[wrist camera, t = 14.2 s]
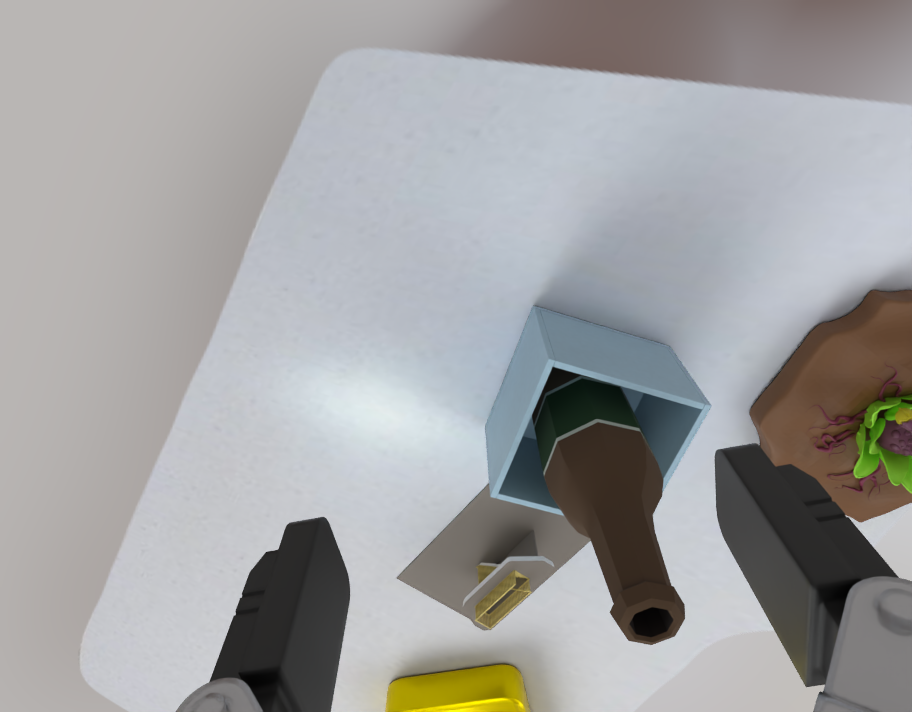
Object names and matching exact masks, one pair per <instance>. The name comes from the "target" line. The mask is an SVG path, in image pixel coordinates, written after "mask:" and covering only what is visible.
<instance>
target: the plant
mask: <svg viewBox="0 0 912 712" xmlns="http://www.w3.org/2000/svg"><path fill="white" fill-rule="evenodd" d="M750 416H751V418H752V421H753V423H754V425H755V427H756V429H757V432H758V434H759V438H760V447H761V448H762V450H763V451H764V452H765V453H766V455H767V456H768V457H769V459H770V460H771V461H772V463H773V464H774V465H775V466H781V465H787V464H792V465H794V466H795V467H797V468H799V469H800V470H802V471H804V472H805V473H807V474H809V475H811V476H812V477H814V478H816V479H817V481H818V482H819V483H820V484H821V485H822V487H823V488H824V489H825V490H826V491H827V493H828V494H829V495H830V496H831V497H832V501H833V502H834V501H835V502H836V503H837V505H838V506H839V507H840V508H841V509H842V511H843V512H844V513H845V515H847V516H849V517H852V518H853V519H855V520H857V521H858V522H864V521H866V520H868V519H871V518H874V517H877V516H880V515H883V514H885V513H888V512H890V511H893V510H895V509H897V508H899V507H902V506H904V505H906V504H909V503H912V290H904V291H897V292H883V291H877V290H873V291H870V292H869V293H868V294H867V296H866V297H865V299H864V300H863V302H862V303H861V304H860V305H859V306H858V308H856V309H855V310H854V311H853V312H851V313H850V314H848V315H846V316H844V317H842V318H840V319H837V320H834V321H831V322H826V323H821V324H819V325H818V326H817V327H816V328H814V329H813V330H812V331H811V332H810V333H809V335H808V336H807V337H806V339H805V340H804V341H803V343H802V344H801V346H800V347H799V348H798V349H797V351H796V352H795V353H794V354H793V356H792V357H791V358H790V360H789V361H788V362H787V363H786V365H785V366H784V367H783V369H782V370H781V372H780V373H779V374H778V375H777V377H776V378H775V379H774V381H773V382H772V383H771V384H770V385H769V386H768V387H767V388H766V390H765V391H764V392H763V393H762V394H761V396H760V397H759V398H758V399H757V401H756V402H755V403H754V405H753V406H752V408H751V410H750Z"/></svg>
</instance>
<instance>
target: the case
mask: <svg viewBox="0 0 912 712" xmlns="http://www.w3.org/2000/svg"><path fill="white" fill-rule="evenodd" d="M552 367H556V368H559V369H563V370H566V371H570V372H573V373H577V374H580V375H584V376H587V377H591V378H594V379H598V380H601V381H605V382H608V383H611V384H615V385H618V386H621V388H622V390H623V392H624V393H625V395H626V397H627V399H628V401H629V403H630V405H631V407H632V409H633V412H634V414H635V416H636V418H637V420H638V422H639V424H640V426H641V428H642V431H643V433H644V435H645V437H646V439H647V441H648V443H649V445H650V447H651V450H652V452H653V454H654V456H655V458H656V460H657V462H658V465H659V468H660V471H661V474H662V477H663V479H664V481H663V491H664V489H665V487H666V485H667V484H668V482H669V480H670V478H671V477H672V475H673V473H674V471H675V470H676V468H677V466H678V464H679V462H680V461H681V459H682V457H683V455H684V454H685V452H686V450H687V448H688V447H689V445H690V443H691V441H692V440H693V438H694V436H695V434H696V433H697V431H698V429H699V427H700V426H701V424H702V422H703V420H704V419H705V417H706V415H707V413H708V411H709V410H710V408H711V404H710V403H709V401H708V400H707V399H706V397H705V396H704V394H703V393H702V391H701V390H700V389H699V387H698V386H697V384H696V383H695V381H694V380H693V378H692V377H691V376H690V374H689V373H688V371H687V370H686V368H685V367H684V366H683V364H682V363H681V361H680V360H679V358H678V357H677V356H676V354H675V353H674V351H673V350H672V349H671V347H670V346H667V345H663V344H660V343H657V342H654V341H650V340H647V339H644V338H640V337H637V336H634V335H630V334H627V333H624V332H620V331H617V330H614V329H610V328H607V327H604V326H600V325H597V324H594V323H590V322H587V321H584V320H580V319H577V318H574V317H570V316H567V315H564V314H560V313H557V312H554V311H550V310H547V309H544V308H540V307H537V306H533V307H532V310H531V312H530V315H529V317H528V320H527V322H526V325H525V328H524V330H523V333H522V335H521V338H520V340H519V343H518V345H517V348H516V350H515V353H514V355H513V358H512V360H511V363H510V365H509V368H508V370H507V373H506V376H505V378H504V381H503V383H502V386H501V388H500V391H499V393H498V396H497V398H496V401H495V403H494V406H493V408H492V411H491V413H490V416H489V418H488V421H487V424H486V426H485V433H486V446H487V460H488V474H489V488H490V497H493V498H497V499H500V500H504V501H508V502H512V503H516V504H520V505H524V506H528V507H532V508H536V509H539V510H543V511H547V512H551V513H555V514H559V515H563V516H564V514H563V513H562V511H561V510H560V508H559V507H558V505H557V504H556V502H555V501H554V499H553V498H552V496H551V495H550V493H549V490H548V487H547V484H546V481H545V478H544V474H543V469H542V464H541V459H540V454H539V449H538V444H537V439H536V434H535V429H534V424H533V419H532V414H533V411H534V409H535V407H536V404H537V402H538V400H539V397H540V395H541V393H542V390H543V388H544V386H545V383H546V381H547V379H548V376H549V374H550V372H551V369H552ZM663 491H662V492H663Z"/></svg>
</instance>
